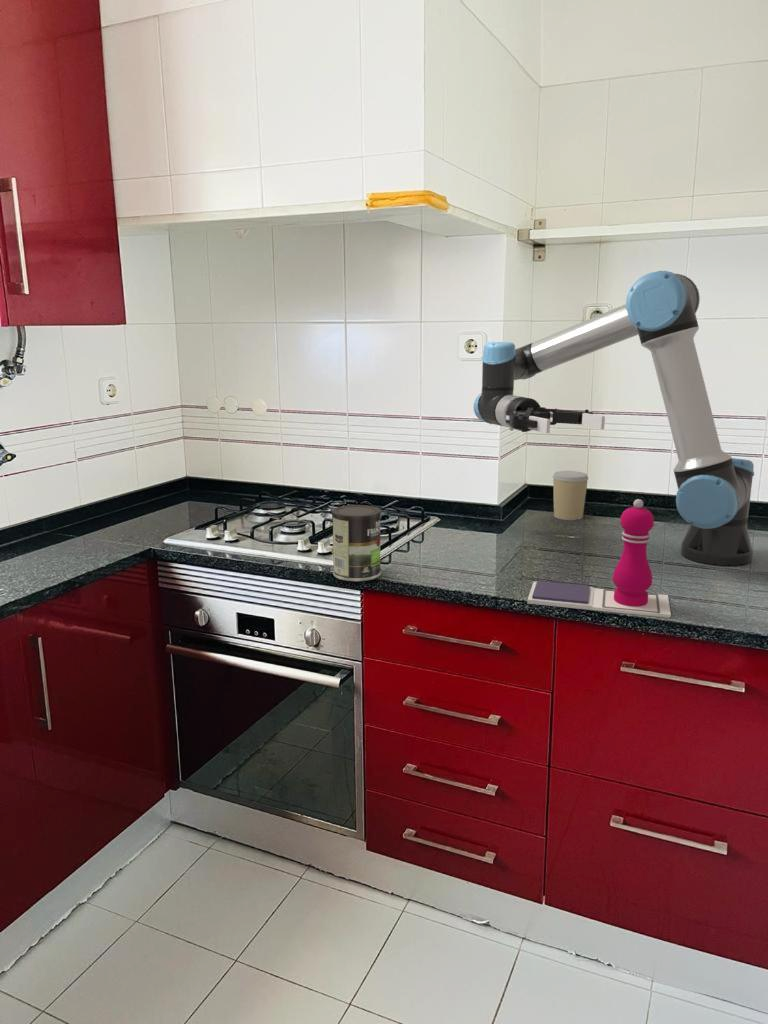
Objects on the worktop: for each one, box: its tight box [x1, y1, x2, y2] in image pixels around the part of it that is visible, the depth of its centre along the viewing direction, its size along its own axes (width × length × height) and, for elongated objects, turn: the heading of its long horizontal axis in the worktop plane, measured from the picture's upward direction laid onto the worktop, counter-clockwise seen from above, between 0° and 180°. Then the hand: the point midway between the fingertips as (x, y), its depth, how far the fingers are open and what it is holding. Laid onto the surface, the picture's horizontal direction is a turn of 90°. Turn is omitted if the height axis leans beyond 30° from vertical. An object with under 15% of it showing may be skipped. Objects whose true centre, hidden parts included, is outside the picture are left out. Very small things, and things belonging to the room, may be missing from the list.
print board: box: [591, 587, 672, 619], centre depth 151 cm, size 14×11×1 cm
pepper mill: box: [612, 498, 655, 606], centre depth 148 cm, size 7×7×20 cm
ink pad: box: [527, 580, 595, 611], centre depth 154 cm, size 12×11×1 cm
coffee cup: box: [552, 470, 589, 521], centre depth 215 cm, size 9×9×12 cm
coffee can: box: [331, 504, 382, 582], centre depth 166 cm, size 10×10×14 cm
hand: (576, 424), depth 161 cm, fingers open, 13 cm apart
